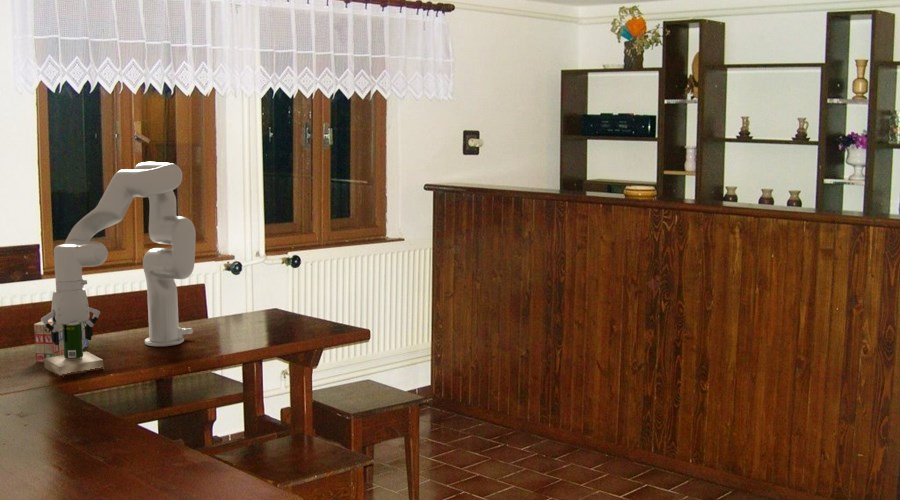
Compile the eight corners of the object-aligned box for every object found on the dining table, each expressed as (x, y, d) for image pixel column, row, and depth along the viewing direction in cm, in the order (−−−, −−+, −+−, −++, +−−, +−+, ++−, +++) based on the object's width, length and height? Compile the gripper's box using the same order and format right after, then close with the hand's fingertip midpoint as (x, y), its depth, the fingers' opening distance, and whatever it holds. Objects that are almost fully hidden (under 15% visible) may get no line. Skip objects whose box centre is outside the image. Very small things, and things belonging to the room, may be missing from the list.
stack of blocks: (71, 345, 343) (69, 309, 341) (88, 346, 342) (86, 309, 340) (35, 362, 322) (33, 323, 320) (54, 363, 321) (52, 324, 319)
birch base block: (87, 360, 324) (86, 351, 323) (103, 369, 314) (102, 359, 313) (44, 367, 315) (44, 358, 315) (59, 377, 306) (59, 367, 305)
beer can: (83, 360, 313) (81, 321, 311) (64, 361, 311) (62, 322, 309) (83, 355, 318) (81, 317, 316) (64, 357, 316) (62, 318, 314)
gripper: (93, 280, 319) (96, 335, 322) (35, 287, 308) (38, 344, 311) (102, 284, 313) (105, 339, 316) (44, 291, 302) (47, 348, 305)
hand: (72, 341), depth 313 cm, fingers open, 9 cm apart
